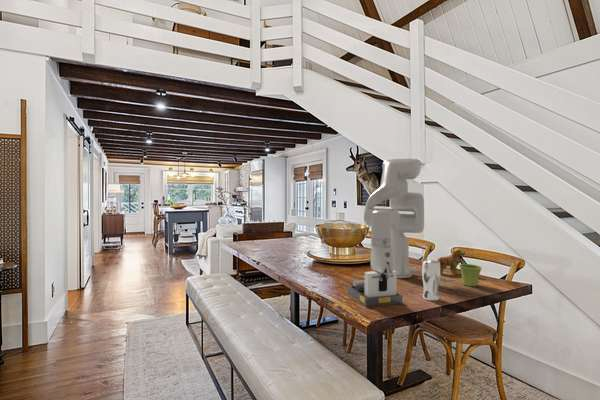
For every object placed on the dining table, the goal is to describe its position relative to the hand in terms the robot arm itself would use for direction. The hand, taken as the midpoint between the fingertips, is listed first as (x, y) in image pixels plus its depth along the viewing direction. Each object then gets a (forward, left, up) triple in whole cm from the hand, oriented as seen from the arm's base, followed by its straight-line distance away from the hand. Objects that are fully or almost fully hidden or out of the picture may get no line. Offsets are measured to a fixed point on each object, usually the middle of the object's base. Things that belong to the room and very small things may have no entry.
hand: (380, 289), depth 127 cm
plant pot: (-52, -11, -5) cm, 53 cm away
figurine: (-57, -31, -5) cm, 65 cm away
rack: (0, -5, -5) cm, 7 cm away
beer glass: (-22, +1, -5) cm, 23 cm away
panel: (0, 0, -2) cm, 2 cm away
